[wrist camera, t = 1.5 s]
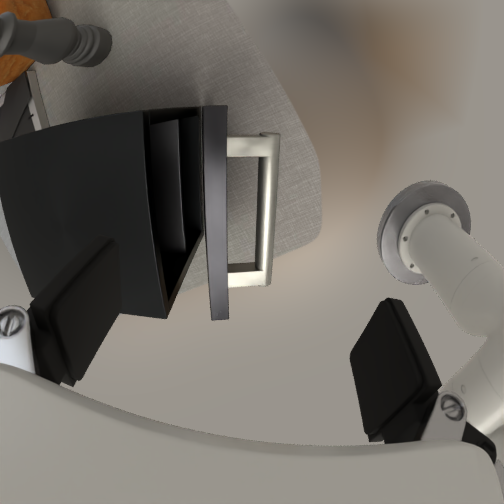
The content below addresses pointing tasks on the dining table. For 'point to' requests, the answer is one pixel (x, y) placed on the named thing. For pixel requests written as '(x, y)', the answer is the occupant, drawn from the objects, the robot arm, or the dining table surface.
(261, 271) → the oven door
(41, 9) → the bread
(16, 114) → the picture frame
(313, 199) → the dining table surface
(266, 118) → the dining table surface
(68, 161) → the oven
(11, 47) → the candle holder
